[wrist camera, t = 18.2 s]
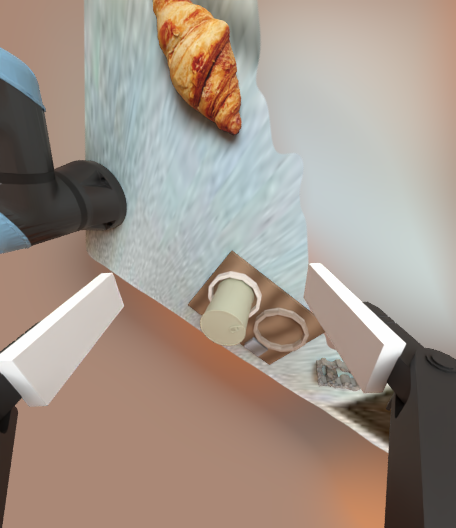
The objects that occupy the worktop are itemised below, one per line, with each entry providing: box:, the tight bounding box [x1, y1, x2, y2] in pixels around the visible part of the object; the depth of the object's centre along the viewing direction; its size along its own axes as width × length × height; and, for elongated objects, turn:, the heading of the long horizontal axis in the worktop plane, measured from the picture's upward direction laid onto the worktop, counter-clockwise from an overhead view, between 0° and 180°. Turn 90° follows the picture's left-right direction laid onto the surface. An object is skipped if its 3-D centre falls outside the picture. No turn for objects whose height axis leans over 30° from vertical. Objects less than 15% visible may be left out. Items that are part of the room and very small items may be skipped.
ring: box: [208, 271, 262, 318], centre depth 47 cm, size 13×18×2 cm
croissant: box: [153, 0, 241, 135], centre depth 27 cm, size 21×10×8 cm, turn 35°
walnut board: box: [188, 251, 325, 365], centre depth 48 cm, size 29×21×2 cm
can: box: [200, 278, 254, 346], centre depth 41 cm, size 9×9×12 cm
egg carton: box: [316, 358, 361, 391], centre depth 48 cm, size 11×8×4 cm
